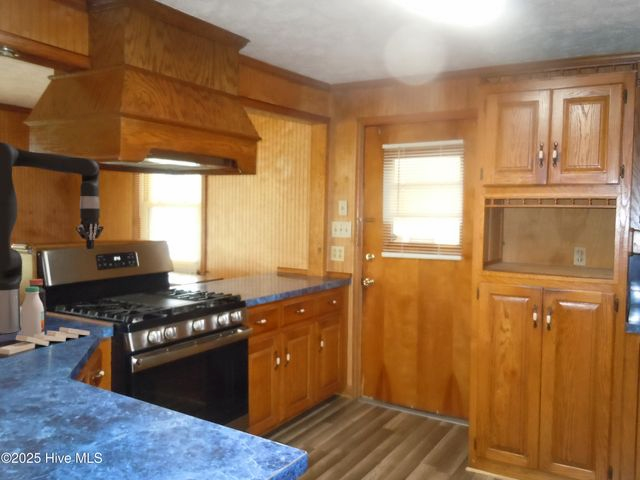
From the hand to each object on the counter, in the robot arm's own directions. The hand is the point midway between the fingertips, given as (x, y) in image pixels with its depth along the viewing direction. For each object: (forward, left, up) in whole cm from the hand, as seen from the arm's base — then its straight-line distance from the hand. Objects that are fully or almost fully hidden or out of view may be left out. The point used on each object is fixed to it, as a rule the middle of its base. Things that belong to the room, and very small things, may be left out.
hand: (90, 249), depth 221 cm
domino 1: (+9, -35, -31) cm, 48 cm away
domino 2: (+9, -36, -33) cm, 49 cm away
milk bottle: (-3, -25, -33) cm, 42 cm away
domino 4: (+8, -22, -32) cm, 40 cm away
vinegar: (-21, -9, -33) cm, 40 cm away
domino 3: (+8, -29, -32) cm, 44 cm away
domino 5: (+8, -16, -32) cm, 37 cm away
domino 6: (+8, -11, -32) cm, 35 cm away
